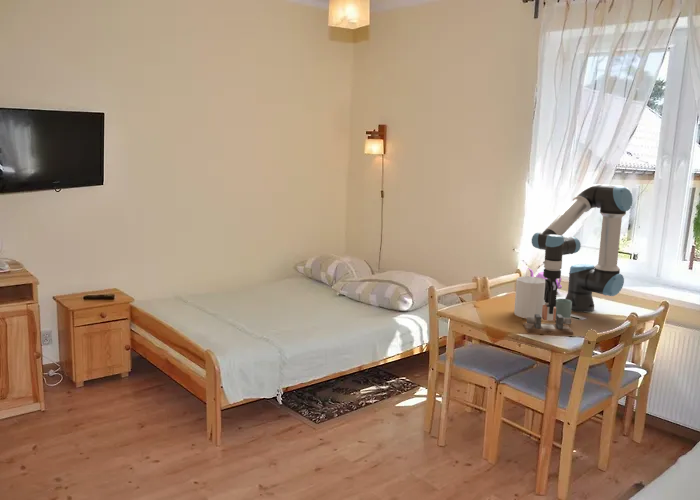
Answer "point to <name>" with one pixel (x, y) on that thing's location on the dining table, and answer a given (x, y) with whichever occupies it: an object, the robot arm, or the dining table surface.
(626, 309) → the dining table surface
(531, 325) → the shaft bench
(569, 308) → the cup
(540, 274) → the teapot
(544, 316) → the joint block
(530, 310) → the container
